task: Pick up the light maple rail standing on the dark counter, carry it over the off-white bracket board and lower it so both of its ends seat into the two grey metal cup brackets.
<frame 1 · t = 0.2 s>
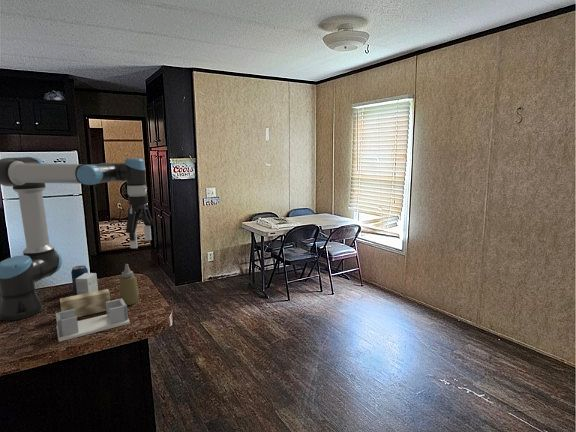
hand: (141, 243, 157), 27 cm above the worktop, fingers open, 13 cm apart
squeeze bottle: (130, 303, 163), on the worktop
small box: (88, 297, 170), on the worktop
rail: (87, 313, 153), on the worktop
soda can: (81, 291, 177), on the worktop
bracket board: (93, 326, 141), on the worktop
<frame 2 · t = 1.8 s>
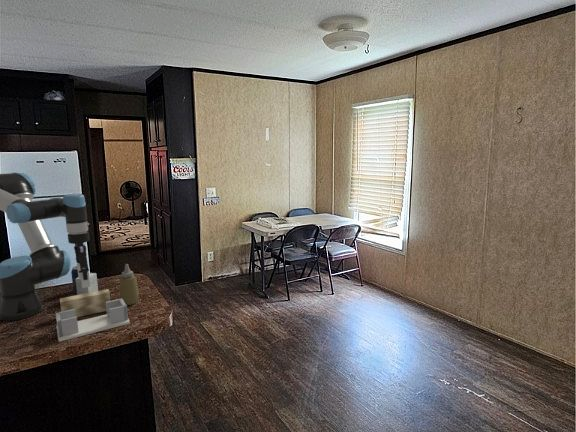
hand: (84, 282, 151), 14 cm above the worktop, fingers open, 13 cm apart
nothing on the worktop moved.
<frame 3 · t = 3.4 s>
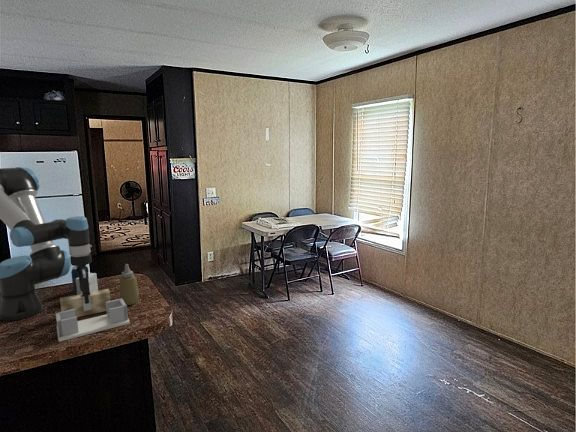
hand: (86, 307, 153), 2 cm above the worktop, fingers closed on rail, 5 cm apart
rail: (87, 312, 153), on the worktop, touching gripper
everything else where it was.
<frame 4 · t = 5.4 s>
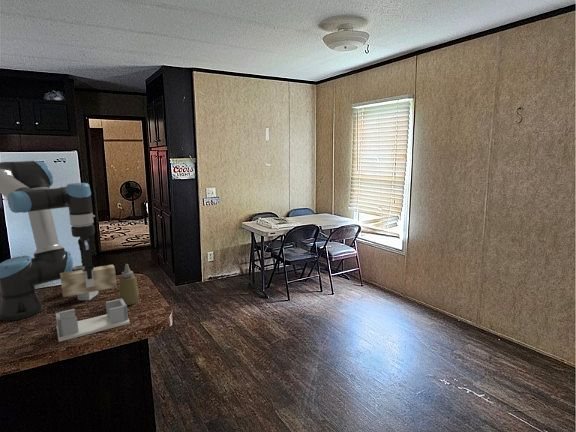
hand: (89, 284, 139), 17 cm above the worktop, fingers closed on rail, 5 cm apart
rail: (90, 290, 139), point 15 cm above the worktop, touching gripper
everything else where it was.
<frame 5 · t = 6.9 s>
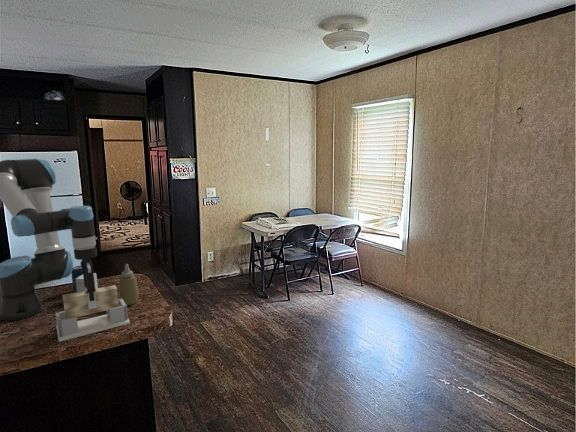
hand: (91, 305, 140), 8 cm above the worktop, fingers closed on rail, 5 cm apart
rail: (92, 311, 140), point 6 cm above the worktop, touching gripper
everything else where it was.
when the fingers open (6 cm above the worktop, at t = 7.7 s): rail stays where it is, resting on bracket board.
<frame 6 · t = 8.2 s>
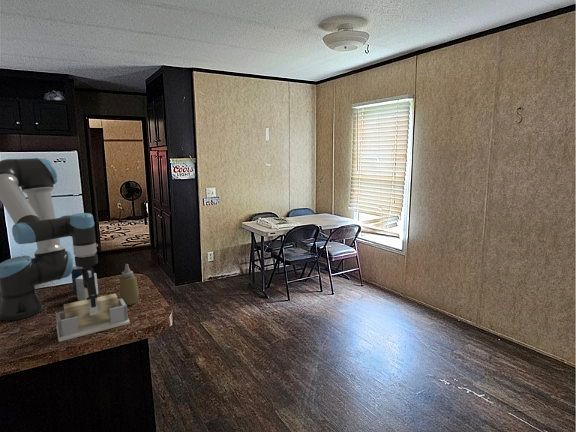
hand: (91, 308, 140), 7 cm above the worktop, fingers open, 11 cm apart
rail: (93, 320, 141), point 2 cm above the worktop, touching bracket board
everything else where it was.
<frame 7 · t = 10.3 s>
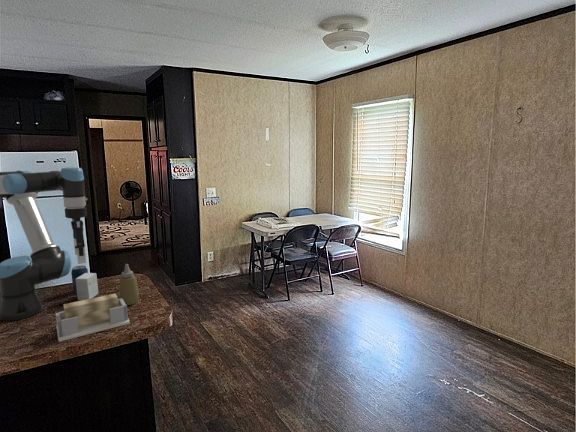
hand: (80, 258, 147), 24 cm above the worktop, fingers open, 13 cm apart
nothing on the worktop moved.
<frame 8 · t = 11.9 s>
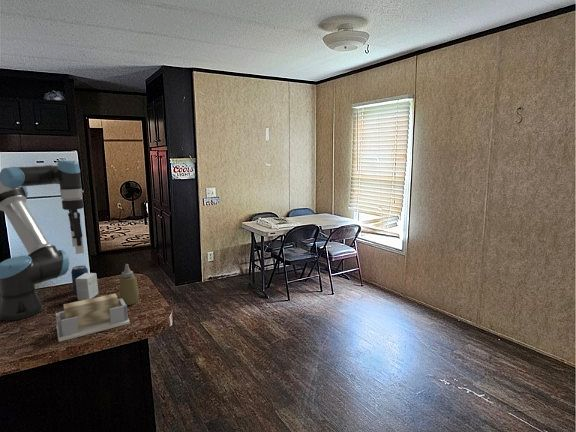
hand: (78, 249, 151), 27 cm above the worktop, fingers open, 13 cm apart
nothing on the worktop moved.
at the end: rail 0.1 cm off-centre on the bracket board, point 2.5 cm above the bracket board's base; rail tilted 0°; the gripper is holding nothing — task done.
